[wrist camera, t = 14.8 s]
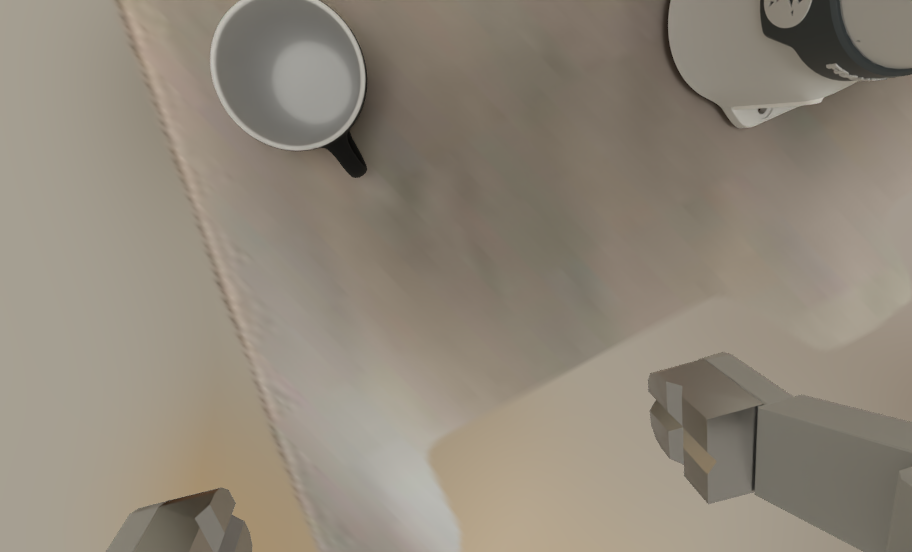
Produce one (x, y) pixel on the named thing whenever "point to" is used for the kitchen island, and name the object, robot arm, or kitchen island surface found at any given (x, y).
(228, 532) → the robot arm
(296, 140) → the mug
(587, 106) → the kitchen island surface
